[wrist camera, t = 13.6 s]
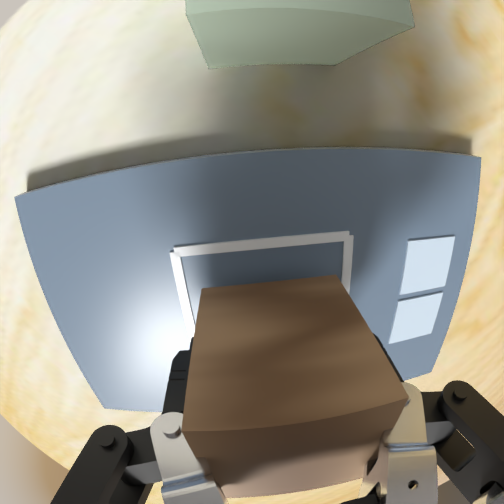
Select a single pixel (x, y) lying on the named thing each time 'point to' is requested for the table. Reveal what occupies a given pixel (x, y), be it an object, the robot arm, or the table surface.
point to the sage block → (292, 29)
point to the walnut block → (286, 387)
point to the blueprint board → (248, 250)
